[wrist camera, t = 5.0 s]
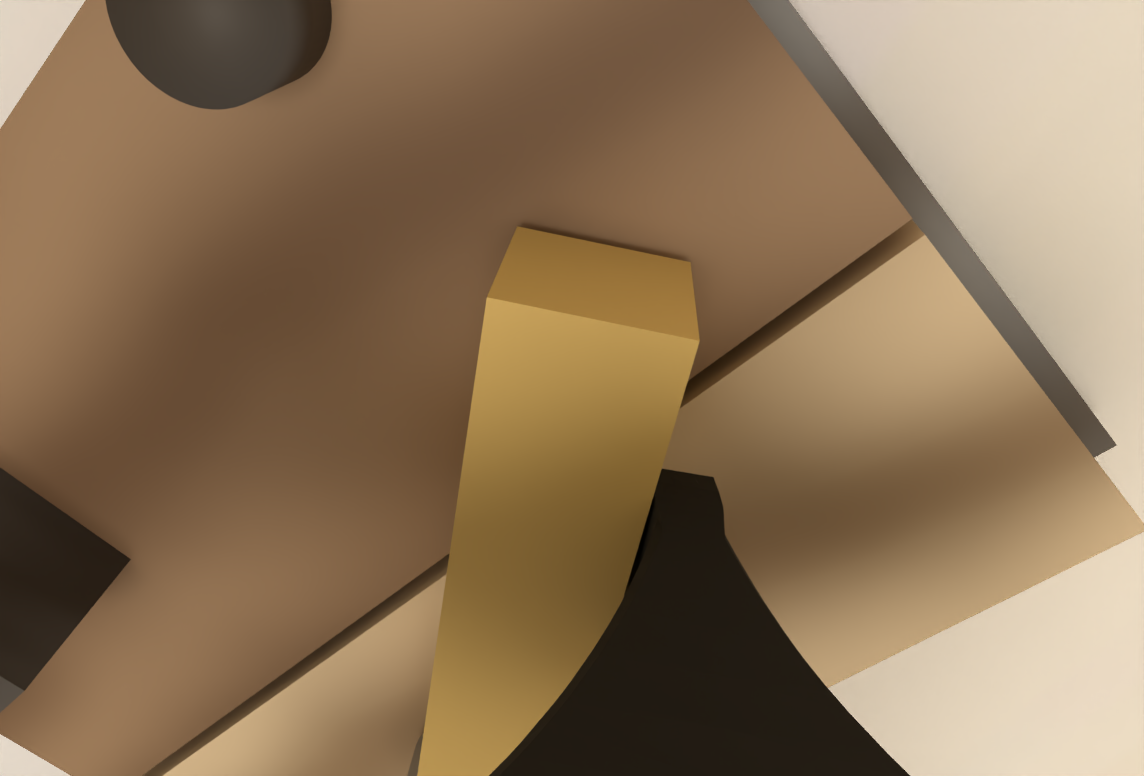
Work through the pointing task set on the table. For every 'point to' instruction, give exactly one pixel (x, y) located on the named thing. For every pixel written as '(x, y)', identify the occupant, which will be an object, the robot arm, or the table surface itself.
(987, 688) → the table surface
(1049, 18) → the table surface
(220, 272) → the wooden board with knob
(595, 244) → the bar
